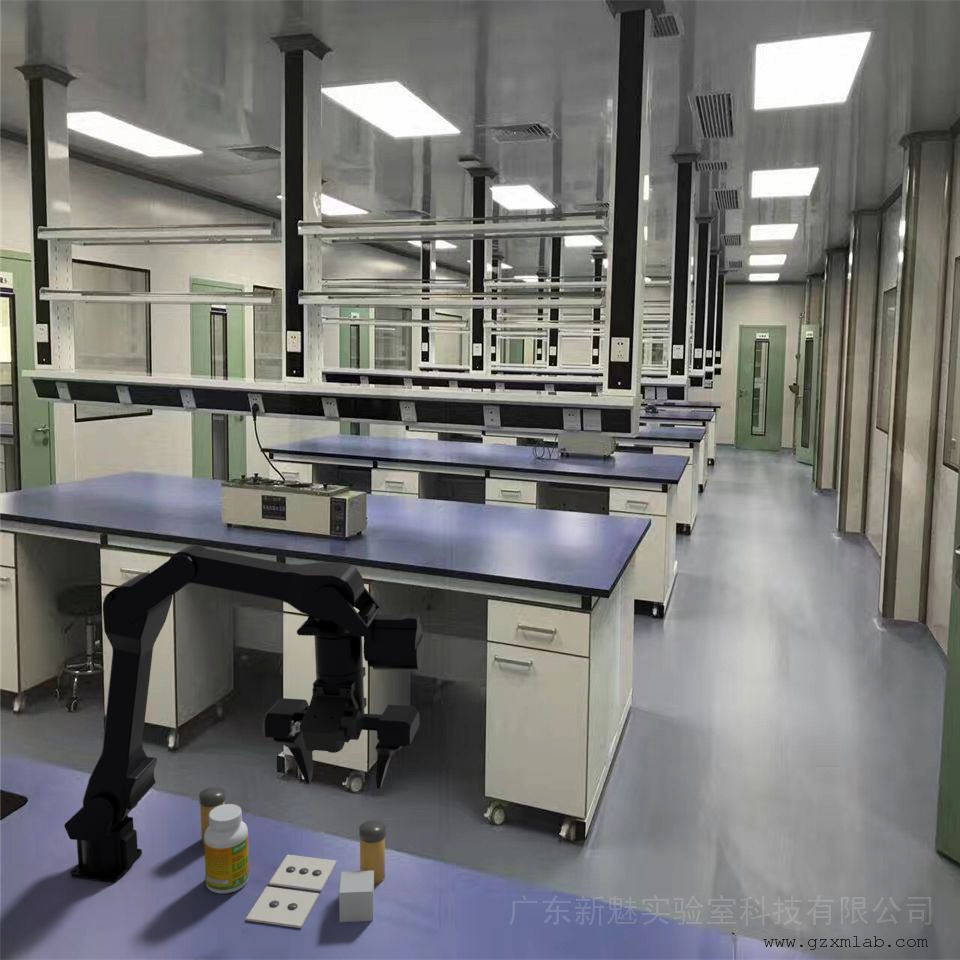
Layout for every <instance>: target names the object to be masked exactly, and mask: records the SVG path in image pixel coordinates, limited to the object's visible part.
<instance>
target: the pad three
mask: <svg viewBox="0 0 960 960" xmlns="http://www.w3.org/2000/svg"><path fill="white" fill-rule="evenodd" d="M337 864H338V860H335V859H325V858H319V857H310V856H301V855H293V854H287V855H286V856H285V858H284V859H283V860H282V862H281V864H280V865H279V866H278V868H277V870H276V872H275V873H274V874H273V875H272V876H273V877H271V879H270V881H268V882H269V883H268V884H269V886H275V887H276V886H277V887H284V888H292V889H299V890H306V891H307V890H308V891H314V892H322V891H323V889H324V887H325V886H326V884H327V881H329V879H330V877H331V874H333V871H334V870H335V868H336V866H337Z"/></svg>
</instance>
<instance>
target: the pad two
mask: <svg viewBox="0 0 960 960" xmlns="http://www.w3.org/2000/svg"><path fill="white" fill-rule="evenodd" d="M319 897H320V893H318V892H312V891H304V890H297V889H288V888H280V887H272V886H266V887H265V888H264V890H263V891H262V893H261V895H260V896H259V897H258V899H257V901H256V902H255V904H254V905H253V906H252V909H251V910H250V911H249V913H248V915H247V916H246V918H245V921H247V922H253V923H254V922H255V923H259V924H261V923H262V924H268V925H276V926H282V927H283V926H284V927H291V928H297V929H302V928H303V927H304V924H305V922H306V920H307V919H308V916H309V915H310V914H311V911H312V910H313V908H314V906H315V904H316V903H317V901H318V898H319Z"/></svg>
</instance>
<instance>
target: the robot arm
mask: <svg viewBox="0 0 960 960" xmlns="http://www.w3.org/2000/svg"><path fill="white" fill-rule="evenodd" d="M189 584H193V585H198V586H201V587H202V586H203V587H207V588H208V587H209V588H214V589H218V590H224V591H229V592H236V593H240V594H246V595H251V596H255V597H261V598H266V599H272V600H278V601H280V602H283V603H285V604H288V605H290V606H291V607H293V609H295V610H297V611H298V612H299V613H302V614H305V615H306V616H307V619H306V620H305V621H304V622H303V623H302V624H301V625H300V626H299V628H297V630H296V635H298V636H306V637H307V636H310V637H311V636H313V637H314V651H315V652H314V654H315V656H314V657H315V677H316V678H315V680H314V682H312V689H311V690H312V694H311V699H310V702H308V701H307V699H303V698H302V699H301V698H286V697H285V698H283V697H281V698H280V699H278V700H277V701H276V703H274V705H273V706H272V707H271V708H270V709H269V710H268V711H266V712H265V714H264V715H263V717H262V722H261V724H262V726H261V727H262V736H263V737H265V738H273V739H272V740H273V741H274V743H276V744H280V745H283V746H284V747H287V749H288V750H289V751H290V753H291V754H292V756H293V758H294V759H295V762H296V764H297V766H298V768H299V771H300V772H301V775H302V777H303V779H304V782H305V784H308V785H309V784H311V782H312V781H313V773H314V772H313V771H314V760H313V756H314V755H313V752H314V751H317V752H318V751H319V752H320V751H321V752H328V753H332V754H334V753H339V752H340V751H342V750H343V748H344V746H345V743H349V742H350V741H351V740H354V741H358V740H359V739H360V736H361V733H362V731H376V736H377V737H376V738H377V740H378V742H377V744H376V746H375V747H374V748H375V751H376V753H377V754H376V755H377V756H376V772H375V785H376V789H378V790H380V789H381V788H382V786H383V783H384V780H385V777H386V775H387V771H388V769H389V764H390V761H391V758H392V755H393V752H397V751H399V750H401V749H402V748H403V747H407V746H411V744H412V741H413V739H414V737H415V735H416V734H417V732H418V730H419V728H420V725H421V724H420V713H419V710H417V708H416V707H415V705H401V704H388V705H387V706H386V707H385V709H384V711H383V713H382V714H377V713H365V709H366V707H367V697H365V692H364V690H365V688H364V677H366V667H365V666H364V664H363V663H364V662H363V658H364V661H365V662H366V663H367V666H368V667H369V668H370V667H371V668H373V670H375V671H404V672H405V671H408V672H409V671H410V672H411V671H412V672H420V671H422V667H423V663H424V654H425V634H424V633H423V628H422V624H421V623H420V620H421V619H420V614H419V613H406V614H380V613H381V612H382V607H381V606H380V605H379V603H378V602H377V600H375V598H374V597H373V596H372V595H371V593H370V592H369V591H368V589H367V588H366V587H365V582H364V579H363V576H362V575H361V573H360V572H359V570H358V568H357V567H355V566H354V565H353V564H350V563H347V562H331V561H330V562H323V561H322V562H311V563H310V562H309V563H302V564H301V563H300V564H291V563H284V562H280V561H275V560H269V559H264V558H258V557H254V556H248V555H242V554H239V553H238V554H237V553H233V552H227V551H222V550H215V549H211V548H206V547H204V546H202V545H198V544H191V545H188V546H186V547H184V548H182V549H180V550H179V551H177V552H175V553H174V554H173V555H171V556H170V557H169V559H168V560H167V561H166V562H164V563H163V564H162V565H160V566H159V567H157V568H156V569H154V570H153V571H152V572H144V573H140V574H138V575H136V576H134V577H132V578H130V579H129V580H127V581H125V582H124V583H122V584H120V585H118V586H116V587H114V588H113V589H112V590H110V591H109V592H108V593H107V594H106V595H105V597H104V599H103V602H102V618H103V631H104V634H105V636H106V638H107V639H108V641H109V643H110V646H111V647H112V648H111V649H112V654H111V655H112V656H111V665H110V672H109V673H110V674H109V675H110V676H109V684H108V694H107V704H106V712H105V713H106V714H105V723H104V731H103V732H104V733H103V743H102V750H101V754H100V756H99V759H98V761H97V763H96V764H95V766H94V769H93V771H92V773H91V775H90V776H89V779H88V781H87V786H86V788H85V792H84V794H83V798H82V799H83V800H82V807H81V808H79V810H78V811H76V812H75V813H74V814H73V815H72V816H71V818H70V819H68V820H67V821H66V822H65V823H64V828H65V830H66V833H67V835H68V837H69V839H70V840H74V841H75V840H76V848H77V849H76V850H77V852H76V853H77V862H78V863H77V865H76V866H75V867H74V868H73V869H72V870H71V871H70V877H72V878H79V879H86V880H87V879H88V880H94V881H95V880H96V881H103V882H110V883H114V882H115V883H116V882H117V881H118V880H119V879H120V878H121V877H122V876H123V875H124V873H126V872H127V871H128V870H129V868H130V867H131V866H132V865H133V864H134V863H135V862H136V861H137V860H138V858H139V857H141V856H142V855H143V850H142V849H141V848H138V835H137V833H138V832H137V830H136V829H135V828H134V817H132V816H129V814H130V813H131V811H133V809H134V808H136V807H137V806H138V804H139V803H140V801H141V800H142V799H143V798H144V797H145V796H146V795H147V793H148V792H149V791H150V789H151V788H153V786H154V785H155V784H156V783H157V782H156V779H155V768H156V765H157V762H158V758H157V757H151V756H147V754H146V752H145V750H144V748H143V741H144V740H143V739H144V731H145V722H146V712H147V704H148V695H149V686H150V678H151V669H152V661H153V652H154V651H153V650H154V646H155V643H156V641H157V639H158V637H159V635H160V633H161V631H162V629H163V627H164V625H165V623H166V621H167V618H168V614H169V611H170V608H171V605H172V602H173V595H175V594H177V593H178V592H179V591H180V590H182V589H183V588H184V587H186V586H188V585H189ZM356 609H357V610H358V611H357V610H356Z"/></svg>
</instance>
